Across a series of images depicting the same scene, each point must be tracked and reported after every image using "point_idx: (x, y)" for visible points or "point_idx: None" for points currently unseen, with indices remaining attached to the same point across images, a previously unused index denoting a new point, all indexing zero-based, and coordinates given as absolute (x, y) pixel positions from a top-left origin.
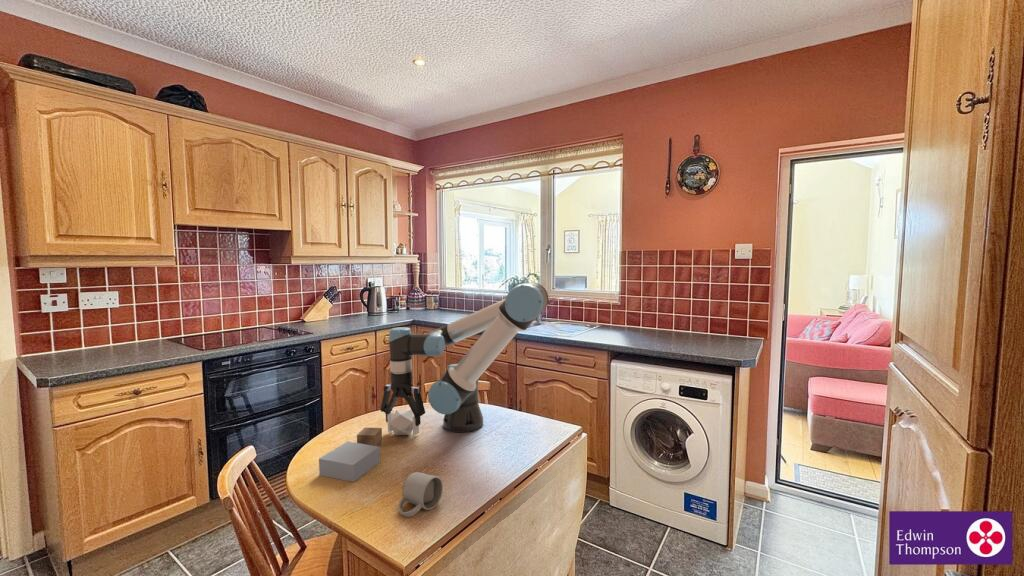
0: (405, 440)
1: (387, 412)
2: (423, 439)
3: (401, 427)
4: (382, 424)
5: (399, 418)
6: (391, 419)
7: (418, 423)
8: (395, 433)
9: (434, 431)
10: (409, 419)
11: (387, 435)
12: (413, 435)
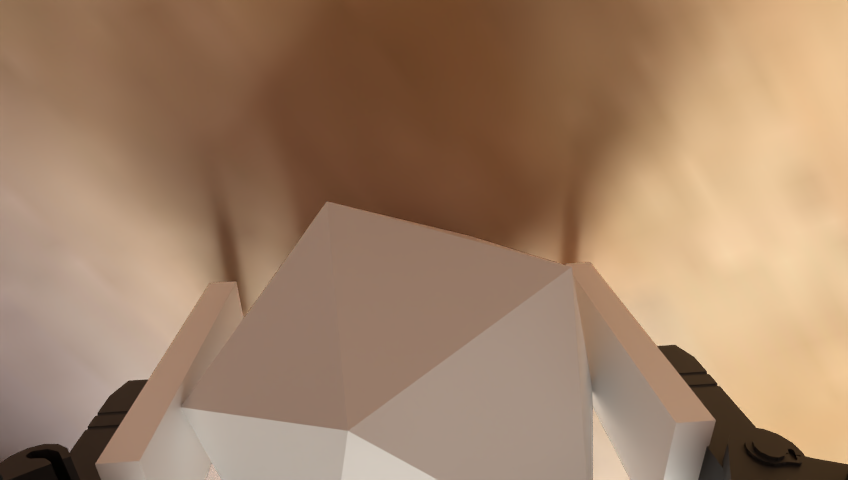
0: (281, 183)
1: (739, 456)
2: (106, 275)
3: (311, 247)
4: (761, 413)
5: (363, 353)
6: (563, 333)
7: (103, 410)
8: (454, 232)
9: None
10: (221, 419)
11: (571, 223)
12: (230, 282)
